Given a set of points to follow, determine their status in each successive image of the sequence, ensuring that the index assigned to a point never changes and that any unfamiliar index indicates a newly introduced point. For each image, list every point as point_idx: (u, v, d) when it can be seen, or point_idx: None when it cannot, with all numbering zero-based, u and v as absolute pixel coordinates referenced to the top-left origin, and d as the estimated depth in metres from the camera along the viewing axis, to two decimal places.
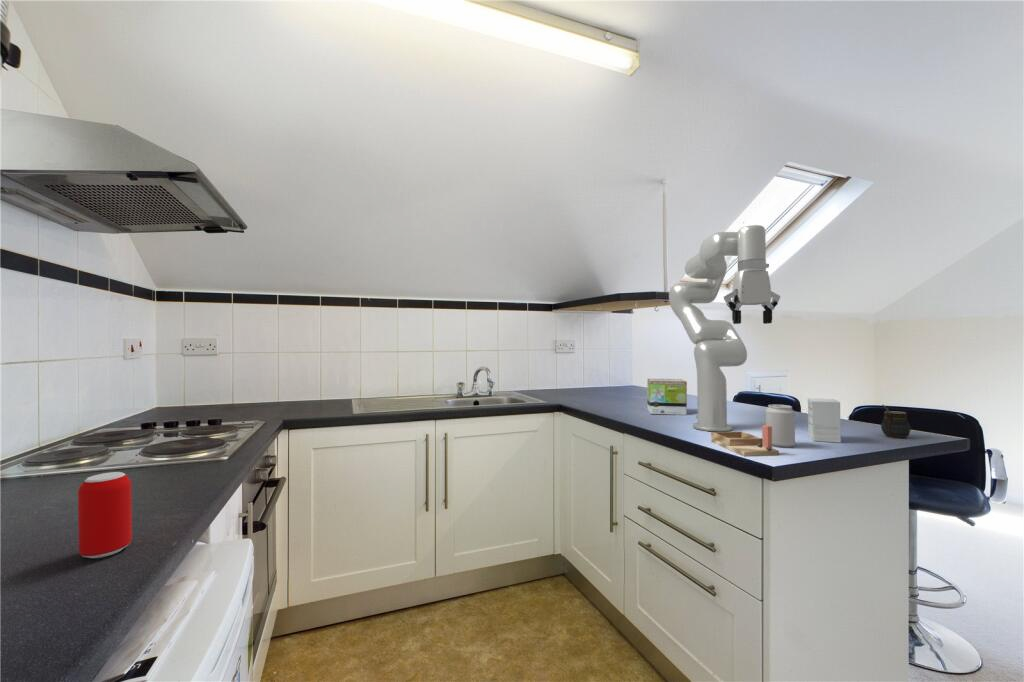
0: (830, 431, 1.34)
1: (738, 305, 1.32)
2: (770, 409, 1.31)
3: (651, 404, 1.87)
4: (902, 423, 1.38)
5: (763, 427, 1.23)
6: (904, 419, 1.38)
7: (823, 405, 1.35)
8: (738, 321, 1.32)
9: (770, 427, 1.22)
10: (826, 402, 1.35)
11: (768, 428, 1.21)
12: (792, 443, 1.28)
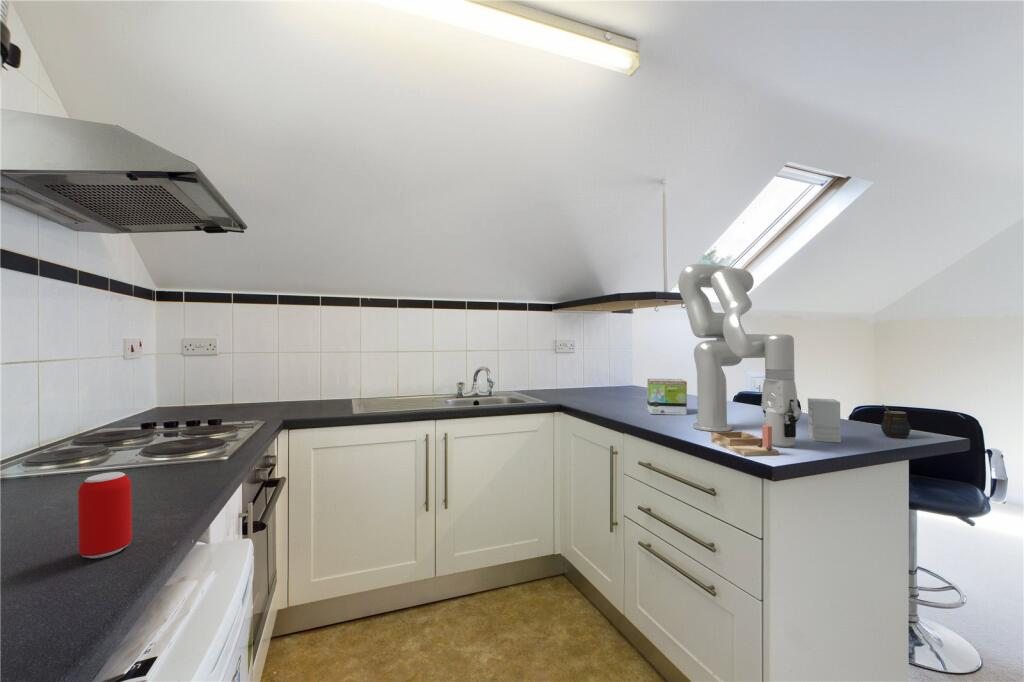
0: (830, 431, 1.34)
1: None
2: (770, 409, 1.31)
3: (651, 404, 1.87)
4: (902, 423, 1.38)
5: (763, 427, 1.23)
6: (904, 419, 1.38)
7: (823, 405, 1.35)
8: (794, 434, 1.27)
9: (770, 427, 1.22)
10: (826, 402, 1.35)
11: (768, 428, 1.21)
12: (792, 443, 1.28)
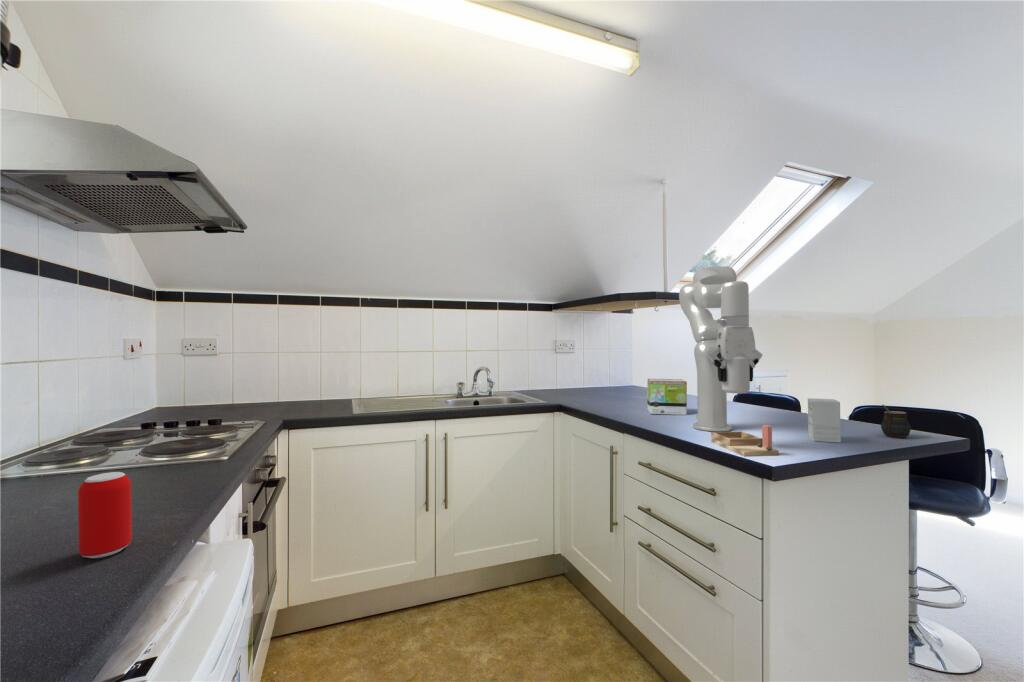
0: (830, 431, 1.34)
1: None
2: (742, 356, 1.29)
3: (651, 404, 1.87)
4: (902, 423, 1.38)
5: (763, 427, 1.23)
6: (904, 419, 1.38)
7: (823, 405, 1.35)
8: None
9: (770, 427, 1.22)
10: (826, 402, 1.35)
11: (768, 428, 1.21)
12: None
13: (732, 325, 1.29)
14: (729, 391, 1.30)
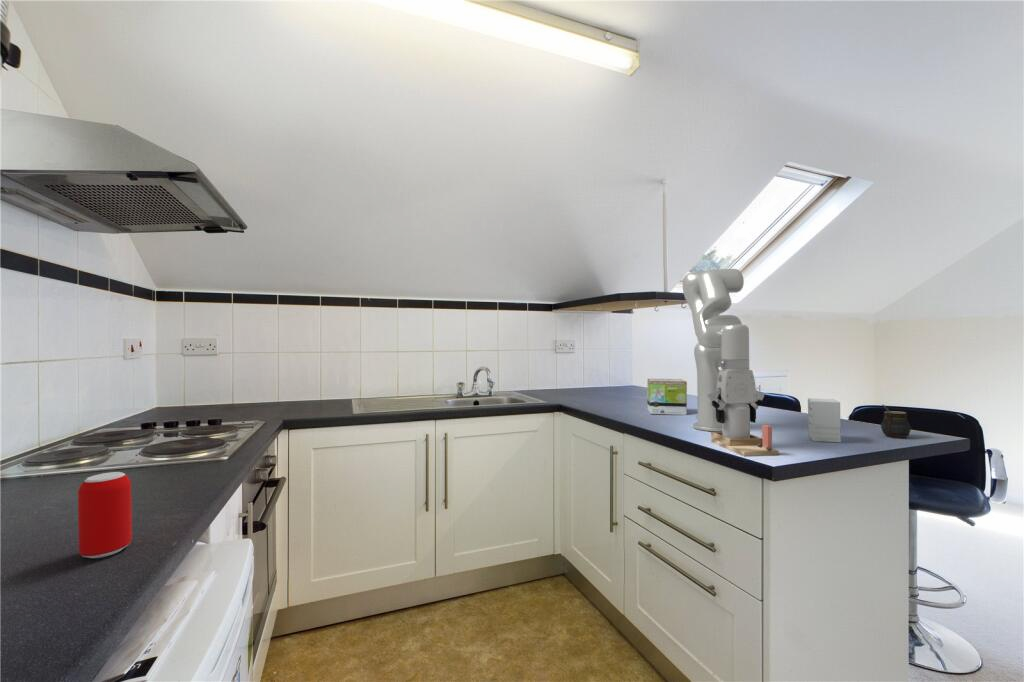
0: (830, 431, 1.34)
1: None
2: (742, 406, 1.29)
3: (651, 404, 1.87)
4: (902, 423, 1.38)
5: (763, 427, 1.23)
6: (904, 419, 1.38)
7: (823, 405, 1.35)
8: None
9: (770, 427, 1.22)
10: (826, 402, 1.35)
11: (768, 428, 1.21)
12: None
13: (732, 369, 1.29)
14: None
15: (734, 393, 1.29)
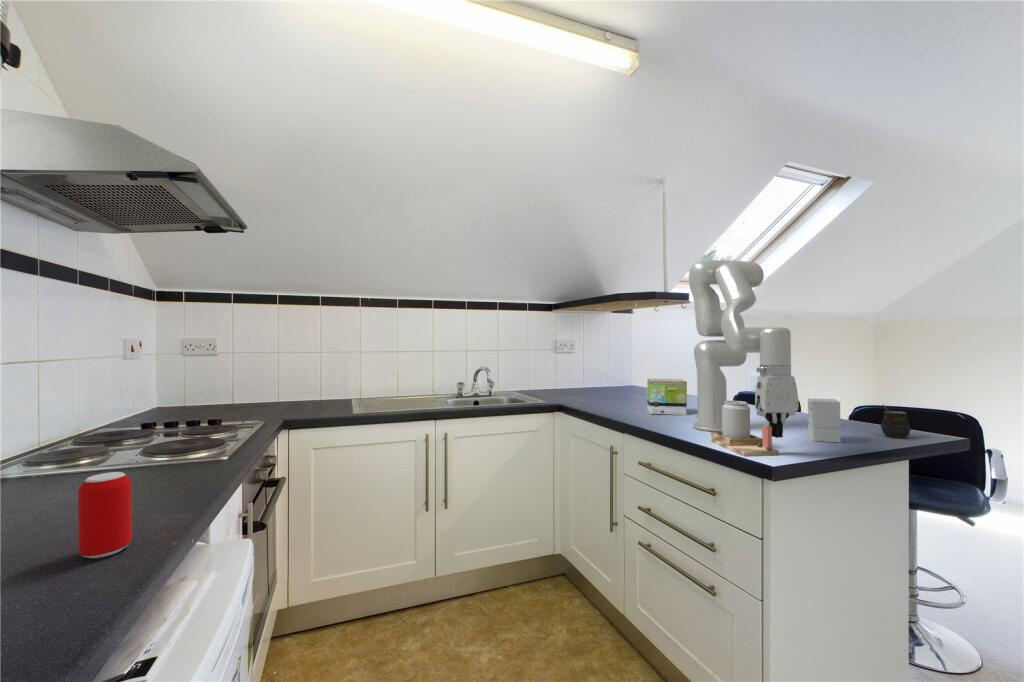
0: (830, 431, 1.34)
1: None
2: (743, 406, 1.29)
3: (651, 404, 1.87)
4: (902, 423, 1.38)
5: (763, 427, 1.23)
6: (904, 419, 1.38)
7: (823, 405, 1.35)
8: None
9: (770, 427, 1.22)
10: (826, 402, 1.35)
11: (768, 428, 1.21)
12: None
13: (773, 375, 1.20)
14: None
15: (775, 401, 1.20)
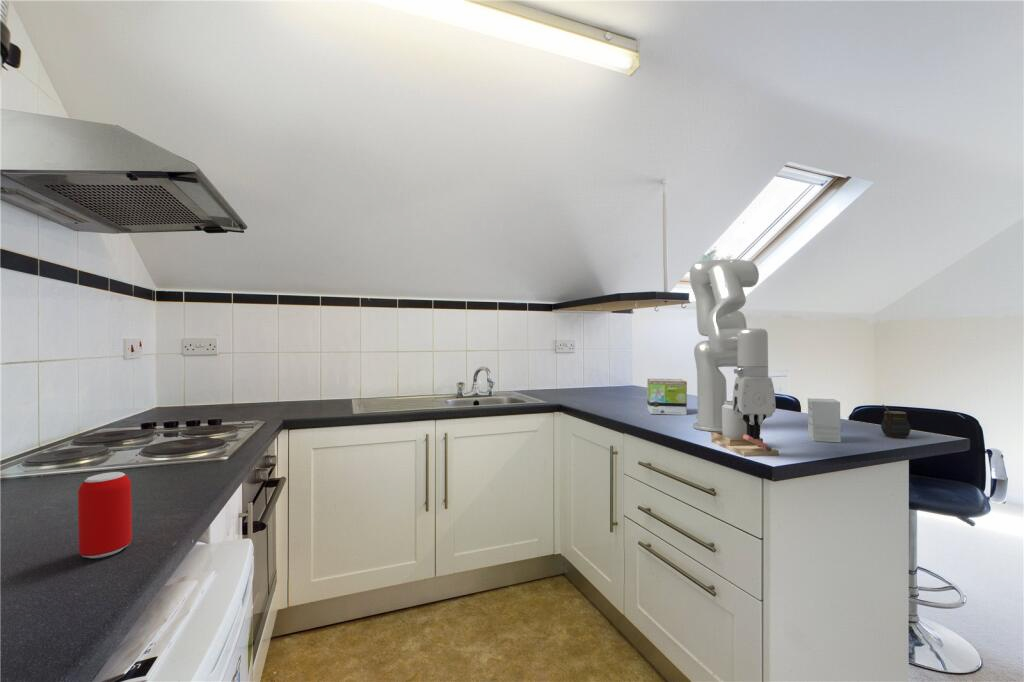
0: (830, 431, 1.34)
1: None
2: None
3: (651, 404, 1.87)
4: (902, 423, 1.38)
5: None
6: (904, 419, 1.38)
7: (823, 405, 1.35)
8: None
9: (749, 437, 1.21)
10: (826, 402, 1.35)
11: (749, 439, 1.21)
12: None
13: (750, 376, 1.19)
14: None
15: (752, 403, 1.19)
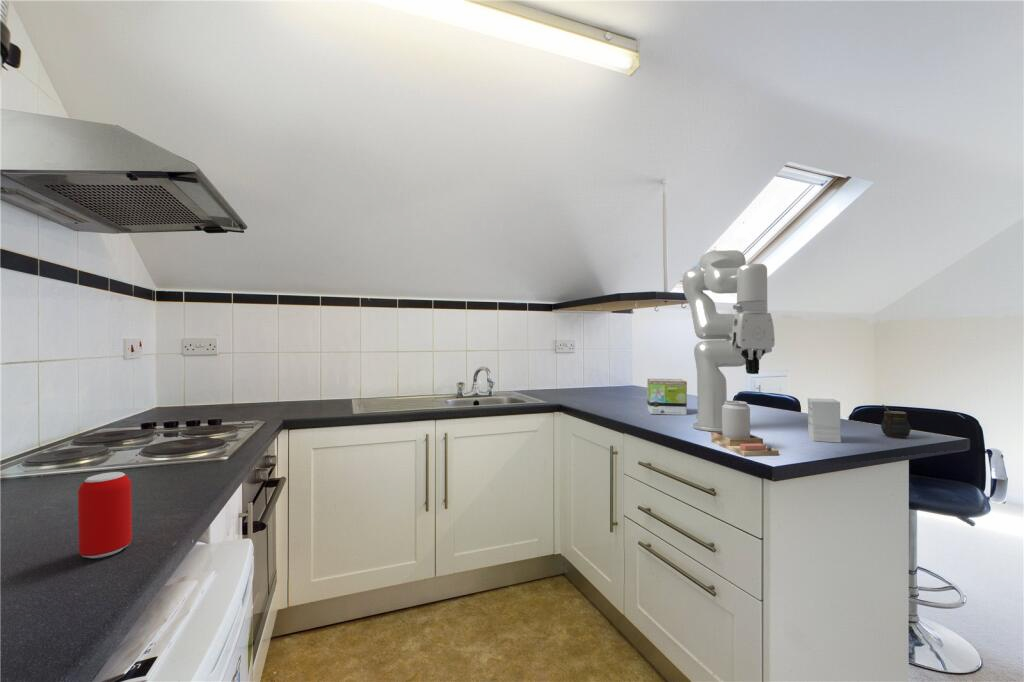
0: (830, 431, 1.34)
1: None
2: (743, 406, 1.29)
3: (651, 404, 1.87)
4: (902, 423, 1.38)
5: None
6: (904, 419, 1.38)
7: (823, 405, 1.35)
8: None
9: (746, 447, 1.21)
10: (826, 402, 1.35)
11: (747, 449, 1.21)
12: None
13: (749, 311, 1.20)
14: None
15: (751, 337, 1.20)
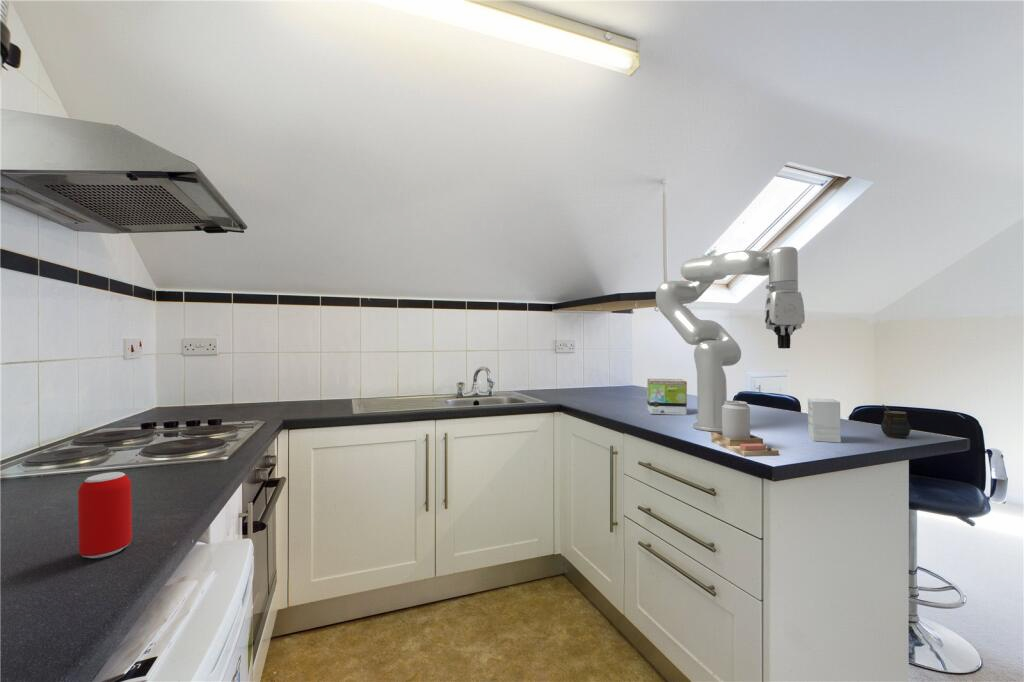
0: (830, 431, 1.34)
1: None
2: (743, 406, 1.29)
3: (651, 404, 1.87)
4: (902, 423, 1.38)
5: None
6: (904, 419, 1.38)
7: (823, 405, 1.35)
8: None
9: (746, 447, 1.21)
10: (826, 402, 1.35)
11: (746, 449, 1.21)
12: None
13: (782, 290, 1.31)
14: None
15: (783, 314, 1.31)
